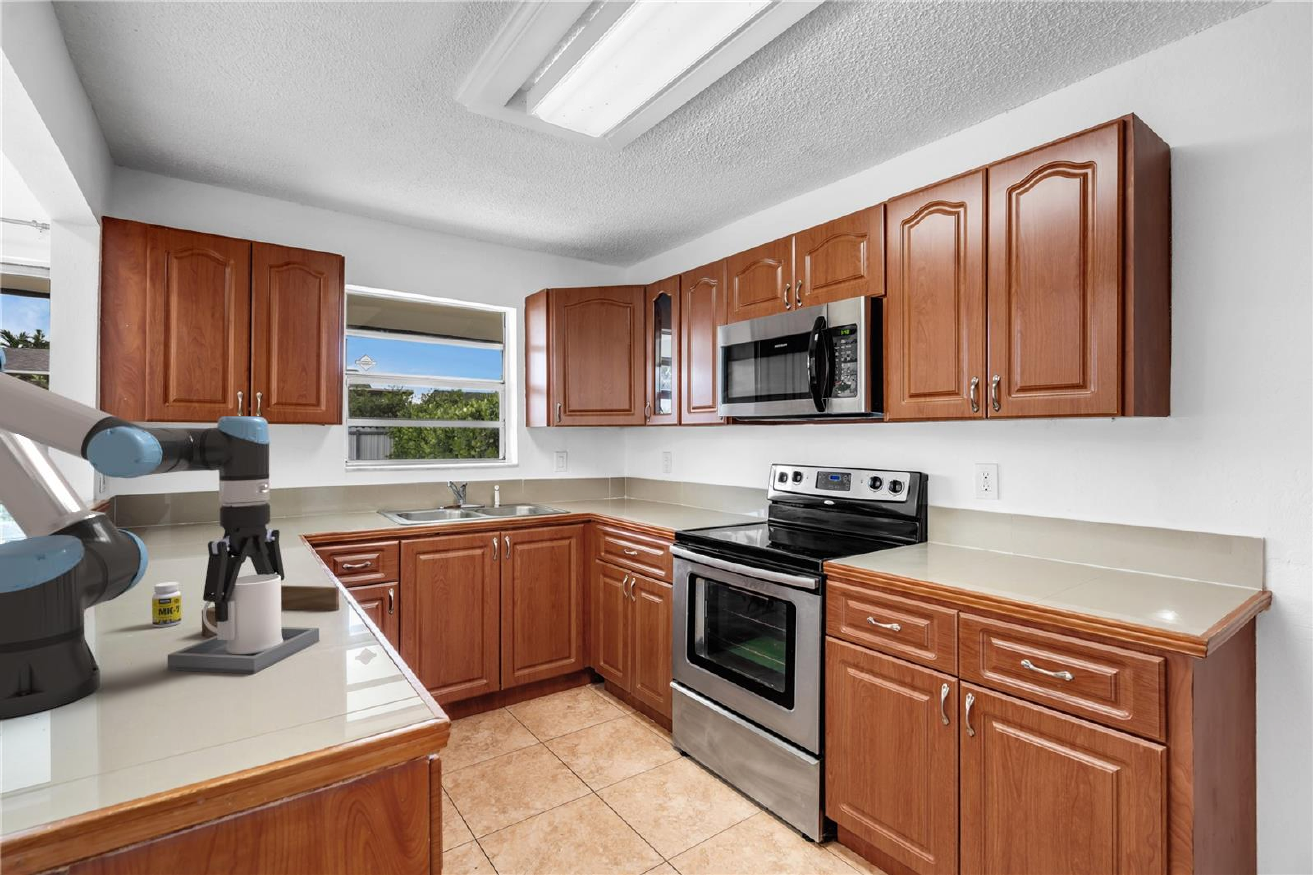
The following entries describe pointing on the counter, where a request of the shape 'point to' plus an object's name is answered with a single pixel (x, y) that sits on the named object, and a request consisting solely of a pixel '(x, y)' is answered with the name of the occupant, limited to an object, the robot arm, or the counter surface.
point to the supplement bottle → (166, 605)
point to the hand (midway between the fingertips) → (247, 630)
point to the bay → (292, 602)
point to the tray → (217, 659)
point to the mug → (254, 614)
